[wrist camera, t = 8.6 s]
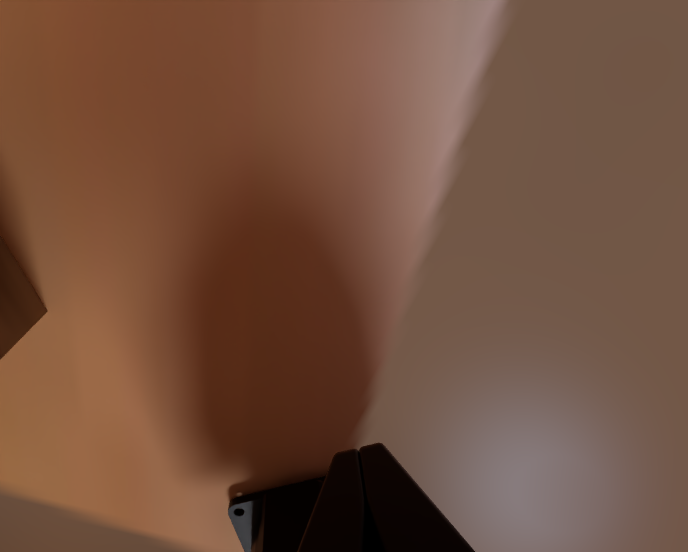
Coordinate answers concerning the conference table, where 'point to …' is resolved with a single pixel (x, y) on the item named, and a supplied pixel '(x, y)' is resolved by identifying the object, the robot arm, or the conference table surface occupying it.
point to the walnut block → (15, 302)
